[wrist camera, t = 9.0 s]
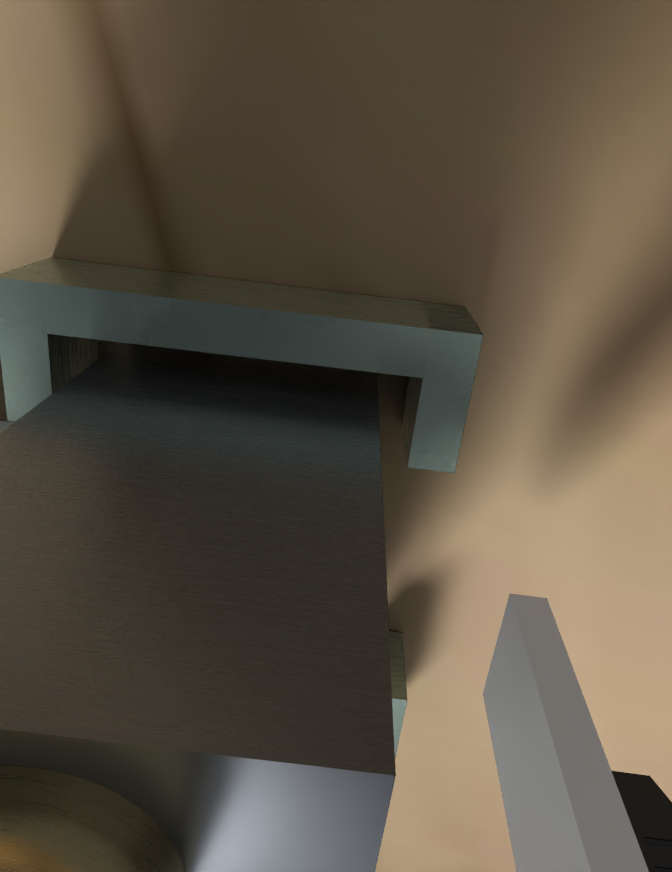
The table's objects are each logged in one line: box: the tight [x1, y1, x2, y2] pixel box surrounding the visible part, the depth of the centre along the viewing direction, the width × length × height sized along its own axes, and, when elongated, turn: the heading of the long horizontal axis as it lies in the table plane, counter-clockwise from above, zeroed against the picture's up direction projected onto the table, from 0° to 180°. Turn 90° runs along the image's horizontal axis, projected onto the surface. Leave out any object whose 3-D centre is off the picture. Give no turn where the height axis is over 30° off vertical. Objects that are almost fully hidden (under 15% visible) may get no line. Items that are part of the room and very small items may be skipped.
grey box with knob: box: [0, 342, 396, 872], centre depth 11 cm, size 9×6×13 cm, turn 174°
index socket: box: [0, 258, 483, 757], centre depth 16 cm, size 12×10×2 cm
